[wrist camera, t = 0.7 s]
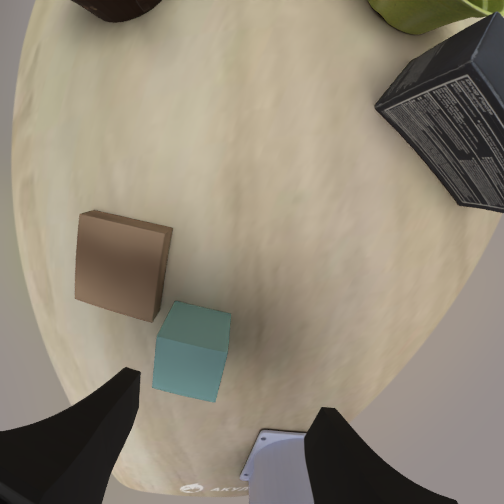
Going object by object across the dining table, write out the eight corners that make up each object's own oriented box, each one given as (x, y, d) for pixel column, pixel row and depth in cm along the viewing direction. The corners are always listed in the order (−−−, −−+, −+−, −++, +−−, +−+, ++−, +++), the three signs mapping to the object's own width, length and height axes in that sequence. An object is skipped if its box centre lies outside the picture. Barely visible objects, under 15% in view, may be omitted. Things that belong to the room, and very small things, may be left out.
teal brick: (220, 358, 21) (215, 402, 16) (168, 346, 21) (152, 387, 16) (231, 313, 20) (227, 352, 16) (175, 300, 20) (156, 336, 15)
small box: (490, 153, 18) (584, 157, 7) (459, 208, 19) (561, 236, 9) (412, 56, 16) (500, 5, 6) (370, 107, 17) (469, 62, 7)
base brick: (159, 309, 20) (152, 322, 18) (87, 288, 20) (74, 298, 18) (172, 228, 19) (164, 233, 17) (93, 210, 18) (79, 213, 16)
